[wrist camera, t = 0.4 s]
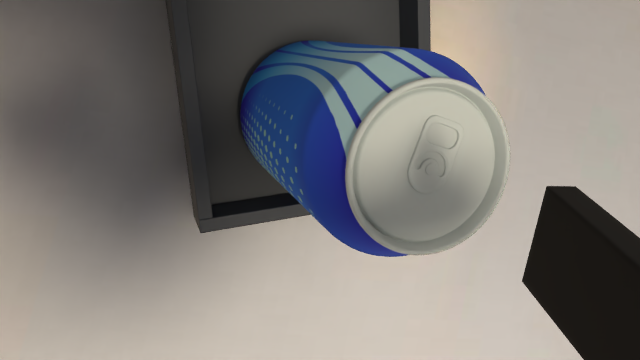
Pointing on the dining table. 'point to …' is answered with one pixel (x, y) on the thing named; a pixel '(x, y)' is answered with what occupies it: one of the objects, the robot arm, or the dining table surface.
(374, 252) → the beer can
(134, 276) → the dining table surface
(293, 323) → the dining table surface
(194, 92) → the dark grey serving tray
